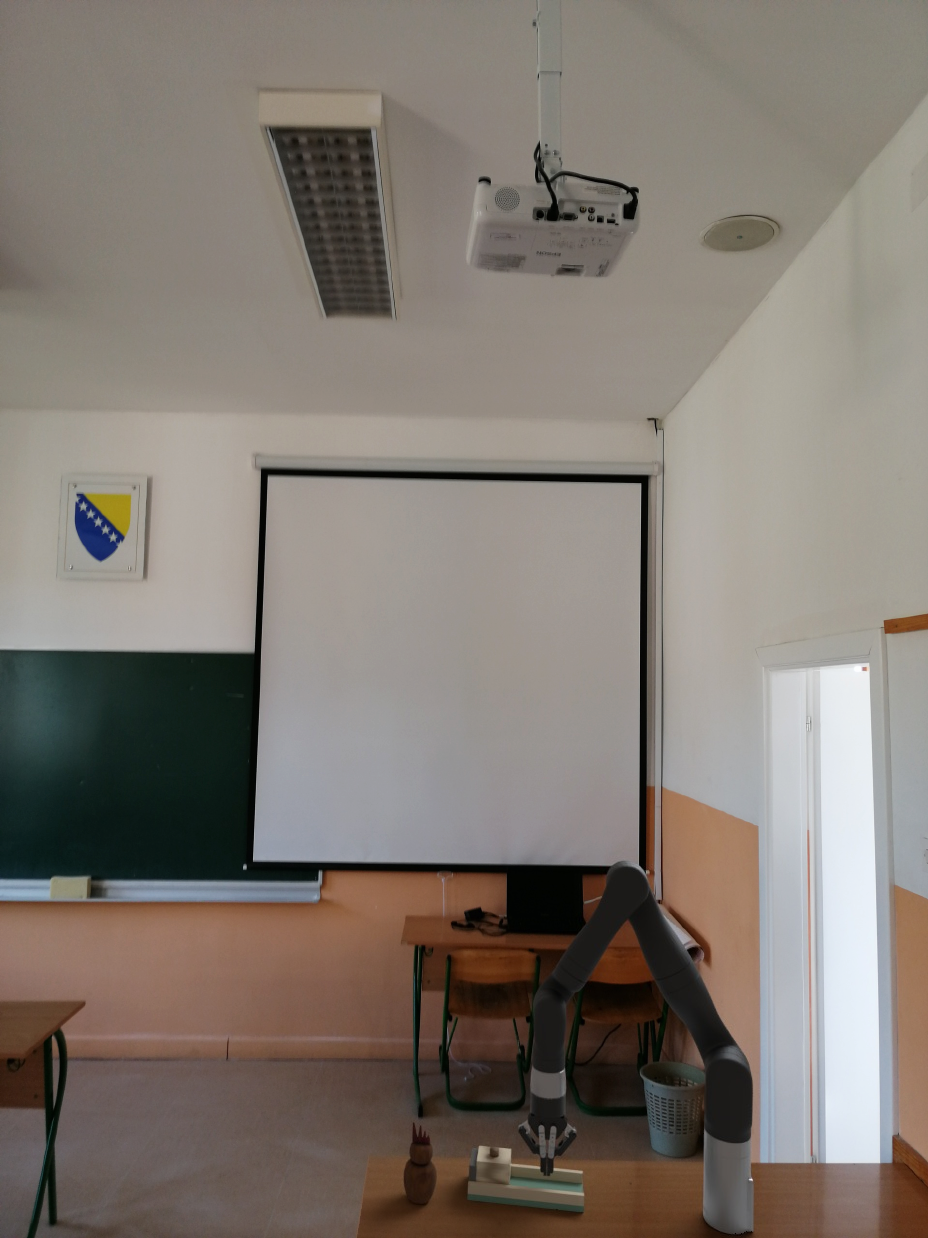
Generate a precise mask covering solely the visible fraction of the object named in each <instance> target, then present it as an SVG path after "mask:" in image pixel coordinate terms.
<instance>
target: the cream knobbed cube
mask: <svg viewBox="0 0 928 1238" xmlns="http://www.w3.org/2000/svg"><path fill="white" fill-rule="evenodd" d="M478 1149H479V1150H478V1156H477V1167H476V1182H485V1183H494V1184H504V1185H510V1174H511V1164H512V1148H504V1147H498V1146H487V1145H486V1146H485V1145H479V1146H478Z"/></svg>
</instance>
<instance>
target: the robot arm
mask: <svg viewBox="0 0 928 1238" xmlns="http://www.w3.org/2000/svg"><path fill="white" fill-rule="evenodd" d="M627 921H628V922H629V923H630V926H631V927H632V930H633V931H634V934H635V936H636V939H637V941H638V944H639V947H640V950H641V952H642V955H643V957H644V961H645V962H646V965H647V967H648V969H649V971H650V974H651V976H652V978H653V980H654V982H655V984H656V986H657V988H658V990H659V991H660V994H661V996H662V997H663V998H664V1000H665V1002H666V1003H667V1005H668V1006H669V1007H670V1009H671V1010H672V1011H673V1013H675V1015H676V1016H677V1018H679V1019H680V1020H681V1022H682V1023H683V1025H685V1027H686V1028H687V1030H688V1032H689V1033H690V1036H691V1037H692V1040H693V1042H694V1043H695V1046H696V1048H697V1050H698V1052H699V1055H700V1058H701V1060H702V1063H703V1067H704V1075H705V1077H704V1078H705V1079H704V1080H705V1082H704V1083H705V1084H704V1085H705V1086H704V1088H705V1089H704V1090H705V1091H704V1093H705V1094H704V1096H705V1098H704V1099H705V1100H704V1116H703V1117H704V1119H703V1121H704V1122H703V1125H704V1127H703V1129H704V1130H703V1133H704V1134H703V1195H702V1196H703V1201H702V1209H703V1210H702V1212H703V1213H702V1215H703V1218H704V1219H703V1220H704V1221H705V1222H706V1223H707V1224H708V1225H709V1226H710V1227H711V1228H713V1229H715V1230H717V1231H719V1232H721V1233H725V1234H727V1235H729V1234H730V1235H741V1233H742V1234H745V1233H747V1232H751V1231H752V1232H754V1180H753V1178H752V1174H751V1172H752V1171H751V1170H752V1166H751V1164H752V1160H751V1159H752V1127H753V1116H754V1115H753V1109H754V1108H753V1107H754V1106H753V1103H754V1100H753V1099H754V1080H753V1074H752V1071H751V1067H750V1064H749V1060H748V1058H747V1057H746V1054H745V1053H744V1052H743V1050H742V1049H741V1047H740V1046H739V1044H738V1043H737V1041H736V1040H735V1039H734V1037H733V1036H732V1034H731V1033H730V1032H729V1029H728V1027H726V1025H725V1024H724V1022H723V1020H722V1018H721V1017H720V1015H719V1013H718V1011H717V1009H716V1006H715V1004H714V1001H713V999H712V996H711V993H710V992H709V989H708V988H707V986H706V983H705V982H704V980H703V978H702V976H701V974H700V972H699V969H698V968H697V966H696V964H695V962H694V960H693V959H692V957H691V955H690V954H689V951H688V950H687V948H686V947H685V946H684V944H683V942H682V941H681V939H680V937H679V936H678V935H677V933H676V932H675V930H674V928H673V927H672V926H671V925H670V923H669V922H668V920H667V918H666V917H665V916H664V914H663V912H662V910H661V907H660V906H659V904H658V902H657V900H656V897H655V895H654V893H653V890H652V887H651V885H650V881H649V879H648V876H647V874H646V872H645V870H644V869H643V868H642V867H641V866H640V864H637V863H636V862H633V861H630V860H619V861H617V862H615V863H614V864H612V865H611V866H610V867H609V869H608V870H607V873H606V877H605V888H604V890H603V892H602V895H601V897H600V900H599V902H598V904H597V906H596V908H595V910H594V912H592V915H591V916H590V918H589V919H588V921H587V922H586V924H585V925H583V927H582V928H581V929H580V931H579V932H578V933H577V935H575V937H574V938H573V939H572V941H571V943H570V944H569V945H568V946H567V949H566V950H565V951H564V953H563V954H562V956H561V958H559V959H560V960H559V962H558V963H557V964H556V966H555V968H554V969H553V971H551V973H550V974H548V976H547V977H546V979H544V981H543V982H542V984H540V986H539V987H538V989H537V991H536V993H535V994H534V997H533V1001H532V1005H533V1006H532V1008H533V1013H532V1014H533V1043H532V1051H531V1052H532V1056H531V1057H532V1058H531V1059H532V1060H531V1061H532V1063H531V1064H532V1065H531V1070H530V1071H531V1072H530V1082H529V1083H530V1085H529V1086H530V1087H529V1089H530V1095H529V1097H530V1099H529V1102H530V1103H529V1105H530V1106H529V1107H530V1108H529V1113H528V1115H527V1119H526V1120H525V1121H524V1122H519V1123H518V1129H517V1130H518V1134H519V1135H520V1136H521V1138H522V1140H523V1141H524V1143H525V1144H526V1146H527V1147H528V1149H529V1150H530V1151H531V1153H532V1154H533V1155H539V1159H540V1161H539V1162H540V1163H539V1164H540V1165H539V1167H540V1171H541V1173H543V1176H550V1173H553V1171H554V1168H555V1167H554V1166H555V1164H554V1163H555V1162H554V1161H555V1158H556V1157H562V1155H564V1153H565V1151H567V1150H568V1148H569V1147H570V1146H571V1144H572V1143H574V1141H575V1139H576V1138H577V1135H578V1134H577V1127H576V1126H571V1125H570V1124H569V1123H568V1118H567V1116H566V1104H567V1103H566V1102H567V1101H566V1098H567V1097H566V1095H567V1094H566V1093H567V1079H566V1076H567V1075H566V1046H565V1041H566V1031H567V1005H568V1004H569V1002H570V1001H571V999H572V998H573V996H574V995H575V993H577V992H580V991H581V990H582V989H583V988H584V987H585V985H586V984H587V982H588V980H589V979H590V977H591V975H592V974H593V973H594V971H595V969H596V968H597V966H598V964H599V963H600V961H601V958H603V956H604V954H605V952H606V951H607V949H608V947H609V946H610V944H611V942H612V941H613V939H614V938H615V936H616V935H617V933H618V932H619V930H620V929H621V928H622V927H623V925H625V923H626V922H627ZM531 1130H532V1132H533V1133H534V1135H535V1136H536V1138H538V1140H539V1142H537V1141H536V1139H535V1138H534V1137H533V1135H532V1134H531ZM563 1133H564V1136H563V1137H562V1138H561V1140H560V1141H559V1142H558V1144H556V1140H558V1139H559V1137H560V1136H562V1134H563ZM546 1140H547V1141H548V1147H547V1144H546V1143H547V1142H546ZM538 1143H539V1144H538ZM746 1231H747V1232H746ZM744 1232H745V1233H744ZM735 1233H736V1234H735Z"/></svg>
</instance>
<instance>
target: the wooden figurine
mask: <svg viewBox="0 0 928 1238" xmlns="http://www.w3.org/2000/svg"><path fill="white" fill-rule="evenodd" d="M422 1130H423V1127H422V1125H421V1124H419V1129H418V1132H417V1128H416V1124H415V1122H414V1121H413V1122H412V1135H411V1136H412V1137H411V1138H412V1140H411V1143H410V1146H409V1152H408V1153H409V1159H408V1160H407V1161H406V1163H405V1166H404V1170H403V1187H404V1191H405V1194H406V1196H407V1199H408V1200H409V1201H410V1202H412V1203H414V1204H418V1205H422V1204H427V1203H428V1202H429V1201H430V1200H431V1199H432V1196H433V1195H434V1192H435V1189H436V1186H437V1179H438V1175H437V1172H438V1171H437V1168H436V1166H435V1164H434V1162H433V1161H432V1158H433V1156H434V1155H433V1154H434V1148H433V1146H432V1144H431V1137H430V1134H428V1135H427V1132H426V1130H423V1131H422Z"/></svg>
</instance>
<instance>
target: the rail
mask: <svg viewBox="0 0 928 1238" xmlns="http://www.w3.org/2000/svg"><path fill="white" fill-rule="evenodd" d="M478 1150H479V1147H476V1148H475V1147H472V1148H471V1155H470V1161H469V1165H468V1182H467V1201H475V1202H482V1203H484V1202H486V1203H494V1204H504V1205H511V1206H521V1207H530V1208H537V1209H539V1208H541V1209H548V1210H556V1209H558V1210H557V1211H567V1212H577V1213H585V1192H584V1188H583V1187H584V1185H583V1177H584V1174H583V1173H584V1171H583V1170H576V1169H568V1168H558V1167H554V1171H553V1173H550V1176H543V1173H541V1171H540V1165H539V1166H538V1165H537V1166H536V1165H529V1164H517V1163H511V1174H510V1185H504V1184H494V1183H485V1182H476V1167H477V1156H478Z"/></svg>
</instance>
